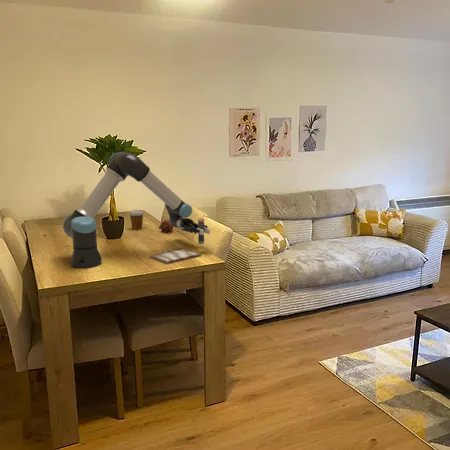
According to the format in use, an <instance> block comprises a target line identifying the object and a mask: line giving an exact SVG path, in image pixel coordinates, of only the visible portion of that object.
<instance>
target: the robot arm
mask: <svg viewBox="0 0 450 450" xmlns="http://www.w3.org/2000/svg"><path fill="white" fill-rule="evenodd" d="M105 170H106V172H105V174H104V175H103V177H102V178H101V179H100V181H99V182H97V184H96V185H95V187H94V188H93V190H92V192H91V193H90V194H89V195H88V196H87V198H86V199H85V200H84V202H83V204H82V205H81V206H80V207H79V208H75V210H74V211H72V213H71V214H70V215H68V216H66V217H65V219H64V220H63V221H62V222H63V223H62V229H63V232H64V234H65V235H67V237H69V238H71V239H72V249H73V250H72V254H71V259H70V266H71V267H73V268H76V269H84V268H85V269H87V268H93V267H94V268H95V267H98V266H99V265H101V264H102V263H103V262H102V256H101V254H100V251H99V249H98V239H97V223H96V220H95V219H94V218H95V216H96V215H97V214H98V212H99V211H101V209H102V207H103V206H104V204H105V203H106V201H107V200H108V199H109V197H110V196H111V194H112V193H113V192H114V191H115V189H116V187H118V185H119V183H120V182H124V181H125V180H126V178H128V176H129V177H131V178H132V179H134V180H135V181H136V182H140V183H141V184H143V185H144V186H145V187H146V188H147V189H148V190H150V191H151V192H152V193H153V194H154V195H155V196H156V197H157V198H159V199H160V200H161V201H162V202H164V206H165V209H166V211H167V214H168V216H169V217H168V218H169V219H168V221H169V223H170V224H171V225H172V226H173V228H176V229H180V230H181V231H182V232H187V233H191V234H194V235H198V234H201V235H204V236H205V234H206V235H211V229H210V228H208V225H207V224H204V230H202V229H200V228H198V222H197V223H196V222H194V220H193V219H192V218H189V217H190V216H191V215H192V214H193V208H192V206H191V205H190V204H189V203H185V201H184V200H183V199H182V198H180V197H179V196H178V195H177V194H176V193H175V192H174V191H172V190H171V188H170V187H168V186H167V185H166V184H165V183H164V182H163V181H162V180H161V179H159V178H158V177H157V176H156V175H155V174H154V173H153V172H152V171H151V168H150V167H149V165H147V164H146V163H145V162H144V161H143V160H142V159H141V158H140V157H139V156H137V155H136V154H134V153H132V152H131V153H130V152H125V151H119V152H115V153H113V154H112V155H111V156H110V158H109V159H108V164H107V166H106V167H105Z"/></svg>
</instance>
